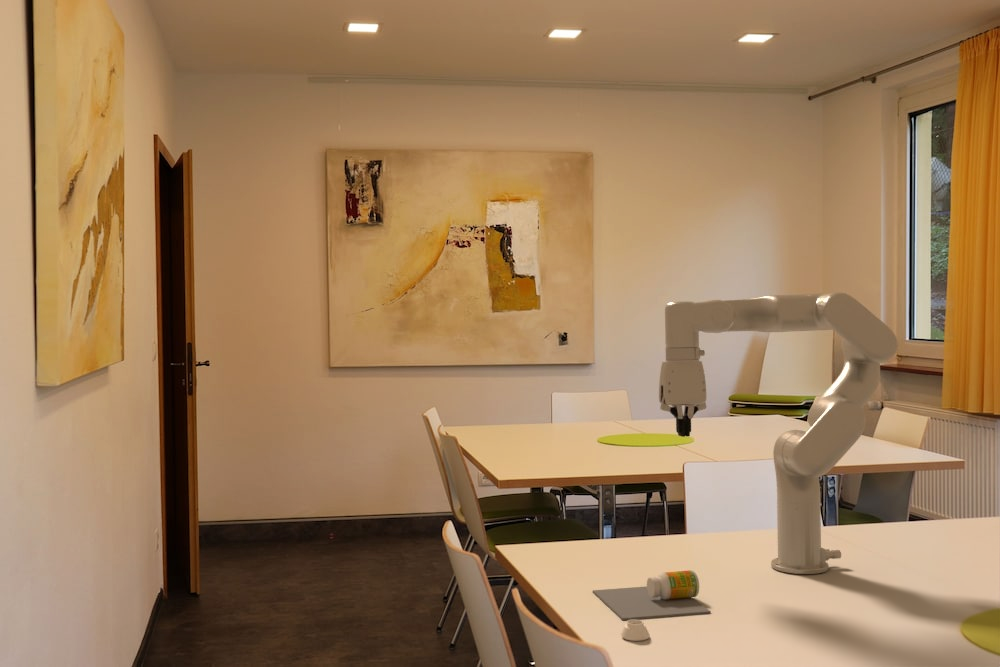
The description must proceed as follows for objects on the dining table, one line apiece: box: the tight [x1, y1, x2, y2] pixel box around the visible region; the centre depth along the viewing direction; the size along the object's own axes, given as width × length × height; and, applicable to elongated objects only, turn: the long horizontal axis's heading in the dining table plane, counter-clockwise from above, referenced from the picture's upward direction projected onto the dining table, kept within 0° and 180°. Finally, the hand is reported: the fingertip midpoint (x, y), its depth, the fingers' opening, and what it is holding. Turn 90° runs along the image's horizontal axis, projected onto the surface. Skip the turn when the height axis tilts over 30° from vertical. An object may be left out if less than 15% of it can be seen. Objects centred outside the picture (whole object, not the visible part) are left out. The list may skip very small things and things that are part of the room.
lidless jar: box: [620, 619, 650, 642], centre depth 173 cm, size 5×3×5 cm
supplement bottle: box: [646, 569, 700, 600], centre depth 195 cm, size 5×5×10 cm
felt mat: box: [592, 585, 712, 621], centre depth 194 cm, size 18×20×1 cm
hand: (683, 435), depth 218 cm, fingers closed
